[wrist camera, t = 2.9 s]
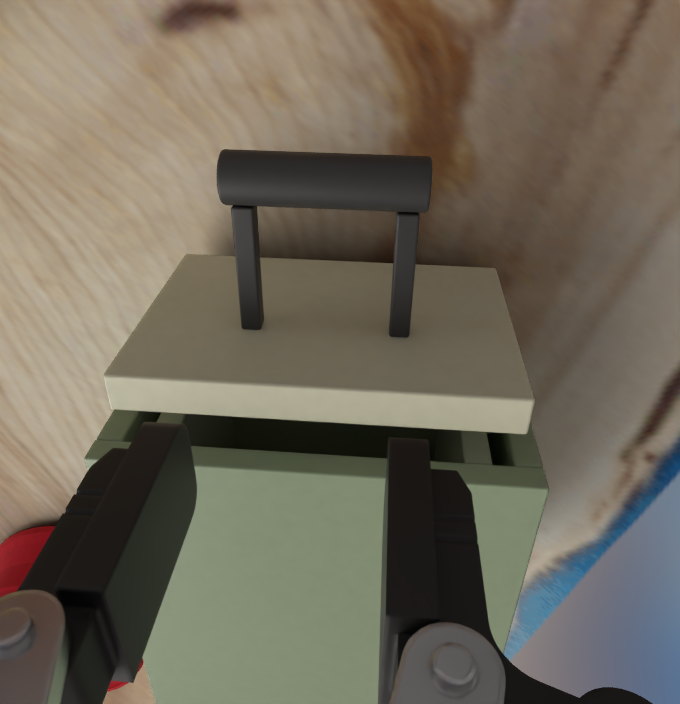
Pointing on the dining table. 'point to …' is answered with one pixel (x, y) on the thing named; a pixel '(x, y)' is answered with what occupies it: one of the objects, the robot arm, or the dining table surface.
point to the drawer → (327, 329)
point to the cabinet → (309, 568)
